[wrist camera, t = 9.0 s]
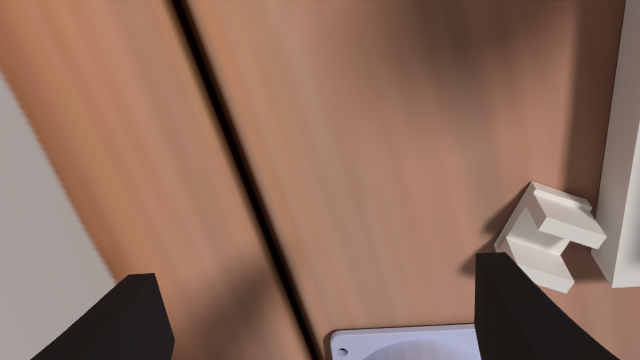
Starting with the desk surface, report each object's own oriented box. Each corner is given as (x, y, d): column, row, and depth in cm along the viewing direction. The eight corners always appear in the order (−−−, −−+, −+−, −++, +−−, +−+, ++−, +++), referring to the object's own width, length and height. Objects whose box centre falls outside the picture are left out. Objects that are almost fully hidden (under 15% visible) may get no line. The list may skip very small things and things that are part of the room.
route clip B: (545, 261, 24) (563, 297, 22) (493, 244, 24) (506, 279, 22) (586, 199, 23) (610, 232, 21) (531, 181, 22) (549, 212, 20)
